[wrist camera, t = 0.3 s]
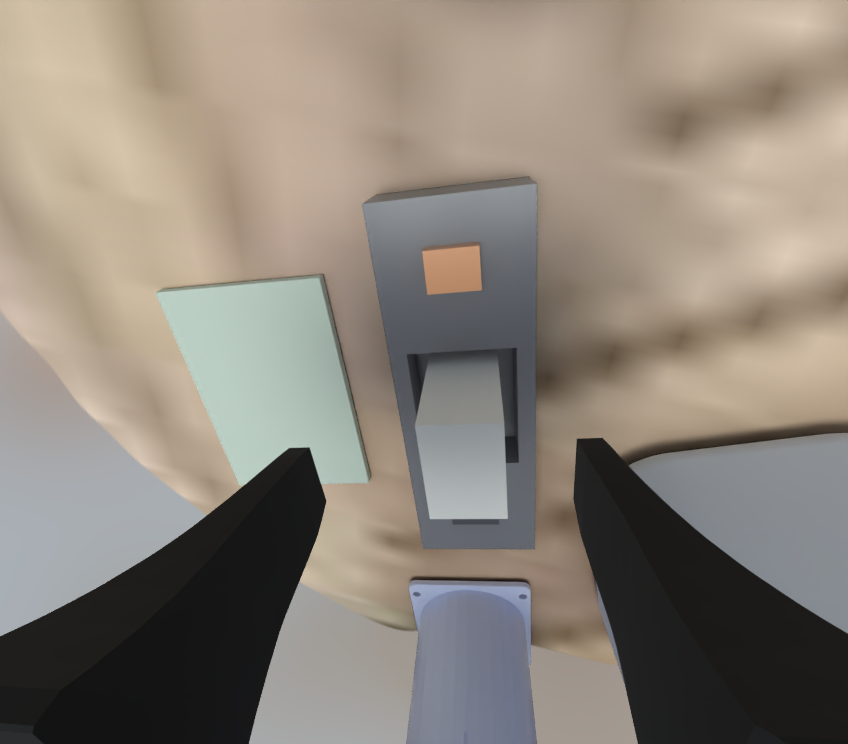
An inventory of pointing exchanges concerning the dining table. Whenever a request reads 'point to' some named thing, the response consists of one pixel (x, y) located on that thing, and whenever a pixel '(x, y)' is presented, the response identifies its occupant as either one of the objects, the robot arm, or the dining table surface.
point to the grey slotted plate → (463, 324)
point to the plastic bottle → (767, 512)
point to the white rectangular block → (463, 436)
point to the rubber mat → (270, 373)
